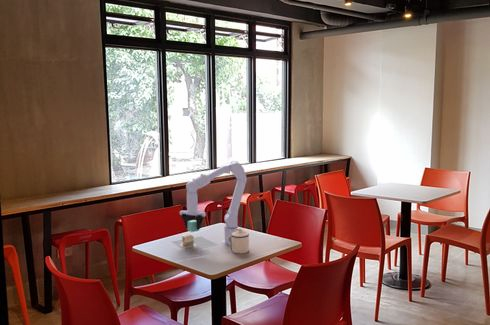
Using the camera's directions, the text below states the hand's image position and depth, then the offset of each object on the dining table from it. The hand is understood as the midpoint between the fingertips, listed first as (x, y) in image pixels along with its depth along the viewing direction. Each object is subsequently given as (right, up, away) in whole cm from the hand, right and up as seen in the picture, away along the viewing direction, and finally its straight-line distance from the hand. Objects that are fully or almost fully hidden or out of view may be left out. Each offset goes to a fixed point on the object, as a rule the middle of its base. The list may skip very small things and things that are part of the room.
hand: (193, 228), depth 245 cm
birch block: (-3, -9, -1) cm, 9 cm away
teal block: (0, -1, 0) cm, 1 cm away
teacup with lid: (+24, -10, -10) cm, 28 cm away
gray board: (0, -9, +2) cm, 9 cm away
